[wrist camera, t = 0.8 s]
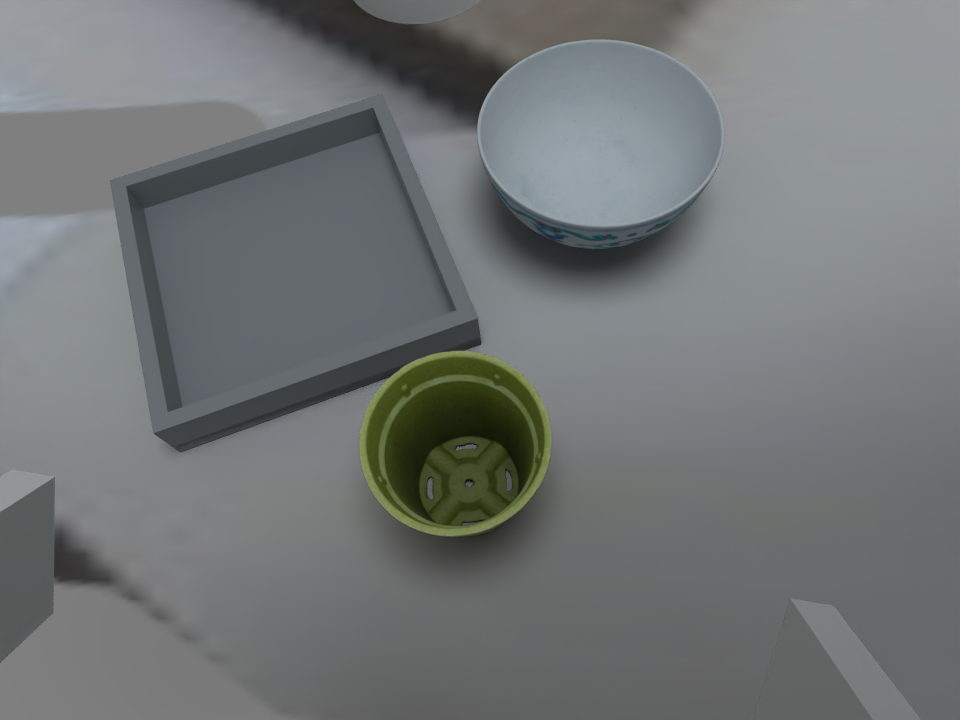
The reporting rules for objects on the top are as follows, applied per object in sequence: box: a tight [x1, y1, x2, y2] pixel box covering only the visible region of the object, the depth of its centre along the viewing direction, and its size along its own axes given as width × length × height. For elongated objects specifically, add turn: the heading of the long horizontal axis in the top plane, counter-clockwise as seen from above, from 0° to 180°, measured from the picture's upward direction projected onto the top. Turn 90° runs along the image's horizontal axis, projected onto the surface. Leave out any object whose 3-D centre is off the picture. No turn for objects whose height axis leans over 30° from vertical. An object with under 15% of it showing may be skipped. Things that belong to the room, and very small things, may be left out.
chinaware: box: [477, 40, 725, 249], centre depth 47 cm, size 15×15×8 cm
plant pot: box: [359, 351, 552, 537], centre depth 38 cm, size 9×9×9 cm
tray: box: [110, 94, 481, 452], centre depth 47 cm, size 20×20×4 cm
